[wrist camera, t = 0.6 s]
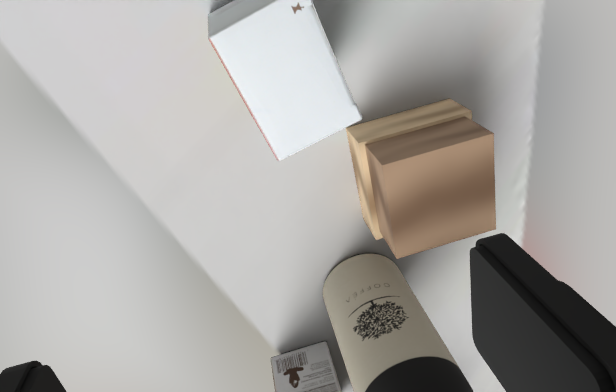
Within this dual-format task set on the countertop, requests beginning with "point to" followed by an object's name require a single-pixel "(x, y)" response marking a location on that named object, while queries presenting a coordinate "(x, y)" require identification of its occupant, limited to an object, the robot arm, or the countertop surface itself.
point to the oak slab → (388, 129)
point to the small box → (283, 71)
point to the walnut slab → (433, 185)
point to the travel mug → (386, 331)
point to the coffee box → (305, 370)
